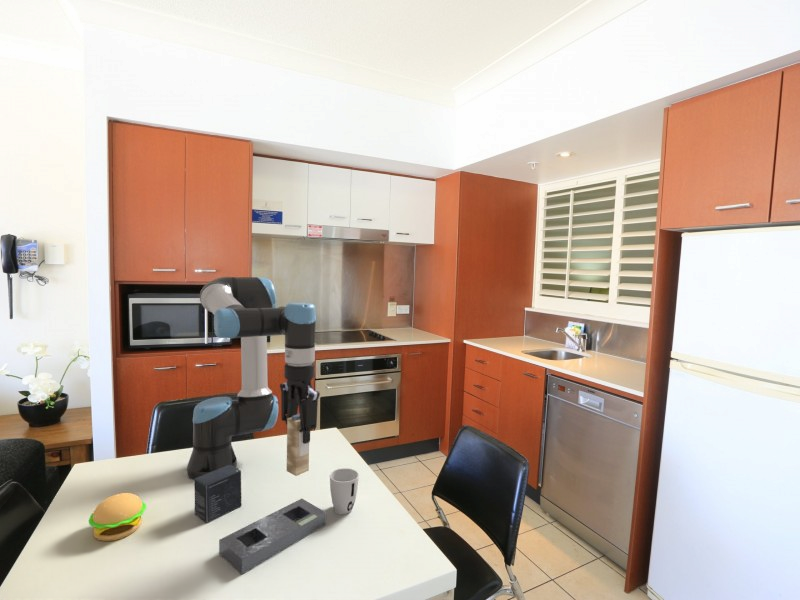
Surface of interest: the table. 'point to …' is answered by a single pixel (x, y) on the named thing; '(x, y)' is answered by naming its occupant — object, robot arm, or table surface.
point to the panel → (270, 535)
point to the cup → (343, 489)
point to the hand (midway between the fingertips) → (297, 451)
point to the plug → (295, 448)
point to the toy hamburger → (117, 516)
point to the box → (217, 493)
